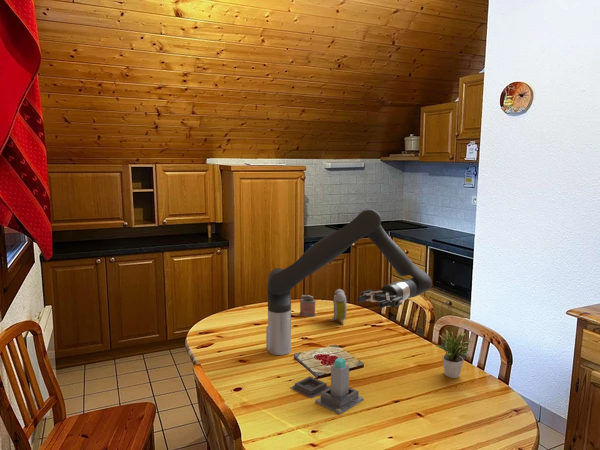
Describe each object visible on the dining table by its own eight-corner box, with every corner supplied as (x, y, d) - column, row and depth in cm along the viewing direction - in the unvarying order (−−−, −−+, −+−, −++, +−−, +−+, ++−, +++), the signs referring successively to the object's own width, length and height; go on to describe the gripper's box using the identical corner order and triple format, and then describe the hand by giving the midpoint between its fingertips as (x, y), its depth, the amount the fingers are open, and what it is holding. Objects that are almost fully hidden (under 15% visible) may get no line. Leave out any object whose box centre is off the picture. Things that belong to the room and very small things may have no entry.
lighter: (316, 314, 230) (316, 295, 228) (314, 316, 227) (314, 297, 225) (301, 312, 232) (301, 293, 231) (298, 315, 229) (298, 295, 228)
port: (315, 403, 146) (315, 392, 145) (339, 389, 154) (339, 380, 154) (339, 415, 139) (340, 404, 138) (363, 400, 147) (364, 390, 147)
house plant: (468, 389, 155) (471, 343, 153) (427, 379, 162) (429, 334, 160) (477, 373, 167) (480, 330, 165) (438, 364, 174) (440, 322, 172)
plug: (330, 399, 147) (331, 360, 145) (338, 394, 149) (339, 356, 148) (340, 403, 144) (341, 363, 142) (348, 398, 147) (349, 359, 145)
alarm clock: (346, 326, 214) (346, 294, 212) (331, 326, 214) (332, 294, 212) (344, 317, 226) (344, 287, 224) (330, 317, 226) (330, 287, 224)
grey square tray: (289, 388, 155) (289, 383, 155) (309, 378, 162) (309, 373, 162) (311, 399, 148) (311, 394, 148) (331, 388, 155) (331, 383, 155)
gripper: (379, 279, 173) (352, 287, 162) (412, 286, 164) (387, 296, 152) (378, 298, 174) (352, 308, 163) (412, 307, 165) (386, 318, 153)
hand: (369, 302), depth 157 cm, fingers open, 8 cm apart
